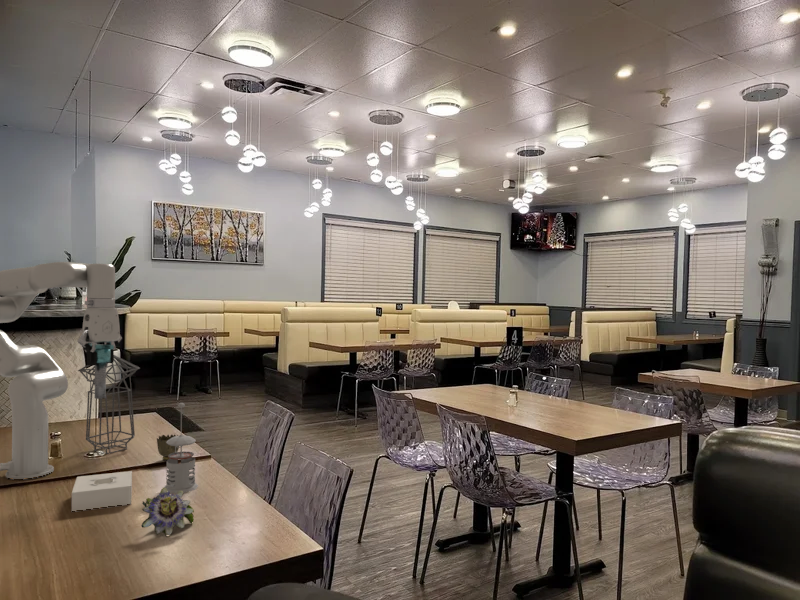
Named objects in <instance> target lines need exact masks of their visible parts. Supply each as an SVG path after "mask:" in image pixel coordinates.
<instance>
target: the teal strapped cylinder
mask: <svg viewBox="0 0 800 600" xmlns="http://www.w3.org/2000/svg"><path fill="white" fill-rule="evenodd" d="M91 346H92V344H91ZM111 349H114V345H105V344H103V343H102V344H100V343H97V345H96V349H95V351H94V352H96V353H97V364H96V365H94V366H95V368H94V369H95V372H94V373H95V376H94V378H95V385H94V390H95V391H94V393H95V394H94V399H96V400H100V399H102V400H103V399H105V398H106V393H107V391H106V390H107V389H106V388H107V378H106V372H107V369H106V362H111Z"/></svg>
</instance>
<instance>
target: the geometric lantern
mask: <svg viewBox="0 0 800 600" xmlns="http://www.w3.org/2000/svg"><path fill="white" fill-rule="evenodd" d="M90 366H91V365H87V364H86V365H84V366H83V367H82V368H80V369H78V370H77V372H79V373H81V374H82V376H83V377H84V378H85V379H86V381H87V382H89V390H88V391H87V402H86V403H87V405H86V407H87V408H86V424H85V425H86V428H85V429H86V431H85V433H86V434H85V441H87V442H88V443H89V444H91V445H92V446H93V449H94V452H96V451H100V450H103V449H104V450H105V452H104V451H100V452H103V453H102V454H104V453H106V454H105V455H109V453H110V454H113V453H118V452H121V451H125V450H128V443H130V441H132V439H134V438H135V437H136V435H135V421H134V420H135V418H134V410H133V409H134V408H133V407H134V406H133V405H134V404H133V393H132V382H131V381H132V379H131V377H132V376H133V374H135V373H136V372H137V371H138V370H140V369H141V367H139V366H138V365H135V364H133V363H132V362H129V361H127V360H125V359H124V358H121V357H120V356H118V355H115V354H114V362H113V363H111V364H110V365H109V363H106V380H108V381H109V382H110V384H112V385H111V386H109V387H108V386H106V390H107V389H108V391H106V398H104V399H105V417H106V419H105V420H106V432H104V433H102V408H103V407H102V405H103V404H102V402H103V398H102V399H99V427H98V429H99V434H96V435H91V436H90V434H91V419H92V404H93V403H92V400H93V394H94V395H95V389H93V388H94V387H95V365H94V366H93V367H92V368H89V367H90ZM116 366H117V368H118V369H119V370H120V371H119V372H116V370H115V367H116ZM107 369H108V370H107ZM124 369H126V371H124ZM111 370H112V371H111ZM110 371H111V372H110ZM85 373H86V374H85ZM119 374H120V375H121V374H122V378H120V379H117V375H119ZM110 375H114V378H112V376H110ZM88 376H89V377H88ZM92 376H94V378H92ZM128 377H129V385H130V387H128V384H127V381H126V380H125V379H127V378H128ZM89 378H90V379H89ZM111 380H112V381H113V382H112V381H111ZM117 382H119V383H118V385H117V386H115V384H116V383H117ZM122 383H124V386H125V387H122V386H121V384H122ZM111 389H112V392H111V391H110V390H111ZM115 389H117V391H116V392H115ZM120 389H125V390H123V391H120ZM109 392H110V393H109ZM120 393H127V401H128V403H127V404H128V411H129V412H128V413H129V421H130V432H131V433H129V432H125V431H122V422H121V421H122V419H121V416H122V415H121V399H120ZM115 394H117V403H118V420H119V421H118V426H119V430H114V425H115V424H114V422H115ZM108 395H109V396H110V395H112V405H111V406H112V410H111V411H112V412H111V413H112V414H111V415H112V416H111V417H112V418H111V431H109V430H110V429H109V412H108ZM114 433H118V434H117V435H116V436H115V438H114V435H113V434H114ZM110 434H111V439H110ZM120 434H126V435H128V436H130V437H127V438H122V439H117V438H118V437H119V435H120ZM104 435H106V436H107V437H106V438H107V441H103V442H102V436H104ZM97 437H98V442H97V441H94V440H92V438H97ZM113 438H114V439H113ZM116 443H120V444H116ZM104 445H107V446H104ZM124 445H125V446H124ZM116 447H117V448H118V447H119V448H122V449H118V450H114V451H111V449H113V448H116ZM117 451H118V452H117ZM100 452H99V453H100Z"/></svg>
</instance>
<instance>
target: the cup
mask: <svg viewBox="0 0 800 600" xmlns="http://www.w3.org/2000/svg"><path fill="white" fill-rule="evenodd" d="M175 436H179V434H175V433H174V434H170V435H169V434H167V435H165V434H162V435H158V437H156V445H157V451H158V453H159V455H160V456H161V457H162V460H163V461H164V460H168V459H170V458H168V455H169V454H171V453H175V446H171V445H168V444H167V443H166V442H167V441H168V440H169V439H171V438H172V437H175ZM177 447H180V446H177ZM177 447H176V452H179V448H177Z"/></svg>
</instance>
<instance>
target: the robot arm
mask: <svg viewBox="0 0 800 600" xmlns="http://www.w3.org/2000/svg"><path fill="white" fill-rule="evenodd" d="M54 288H86V300H84V305H85V306H86V308H85V310H84V313H83V319H82V321H83V322H82V333H81V335H80V336H79V338H78V339H77V343H78V344H79V345H80V346H81V347H82V348H83V349H84V351H85V353H86V366H87V365H90V366H93V367H94V366H95V365H96V364H97V353H96V352H94V351H95V349H96V345H97V344H98V343H104V345H114V349H111V362H106V363H108V364H112V363H113V364H114V363H115V362H114V359H115V358H114V355H115V354H114V351H115V350H116V348H117V346H118V345H119V343H120V342H121V341H122V340H123V337H122V335H121V334H120V333H121V332H120V331H121V329H120V318H119V313H118V309H117V308H115V307H116V304H115V303H116V299H115V298H116V267H115V266H114V265H113V264H111V263H110V264H109V263H85V262H76V261H75V262H73V261H55V262H47V263H41V264H36V265H34V266H27V267H26V266H25V267H18V268H10V269H9V268H8V269H2V270H0V324H3V323H4V324H5V323H7V324H8V323H12V322H15V321H16V320H18V319H19V318H20V317H21V316H22V315H23V313H24V312H26V310H27V308H28V307H29V306H30V304H32V303H33V301H34V300H35V298H36V297H37V296H38V294H42V293H46V292H47V291H48V290H49V289H54ZM91 344H92V346H91ZM0 376H1V377H3V378H12V380H10V382H9V384H8V388H7V389H8V390H7V392H8V399H9V401H10V407H11V419H12V420H11V429H12V430H11V460H10V461H9V460H8V461H7V462H0V471H6V473H5V478H6V479H8V478H13V479H12V480H14V479H23V480H25V479H24V478H32V479H34V478H33V477H37V478H39V477H38V476H42V477H44V476H43V475H45V476H47V475H46V474H48V475H50V474H52V473H53V472H54V471H55V468H54V466H53V465H52V464H49V413H48V411H47V408H46V406H45V404H44V401H48V400H53V399H56V398H59V397H61V396H63V395H64V394H65V393H66V391H67V390H68V388H69V387H68V386H69V381H68V378H67V376H66V374H65V372H64V371H63V369H62V368H61V367H60V366H59V365H58V364H57V362H56V361H55V360H54V359H53V358H52V356H51V355H50V354H49V353H48V352H47V351H46V350H45V349H44V348H42V347H41V346H38V345H33V344H28V345H18V344H16V343H15V342H14V341H13V340H12V339H11V338H10V337H9V335H8V334H7V332H5V331H3V330H2V329H0ZM51 472H52V473H51ZM49 473H50V474H49Z"/></svg>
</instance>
